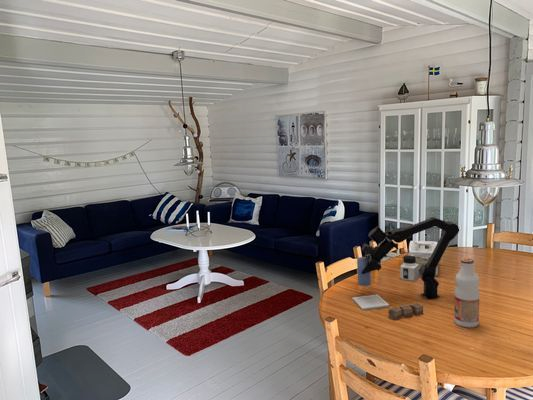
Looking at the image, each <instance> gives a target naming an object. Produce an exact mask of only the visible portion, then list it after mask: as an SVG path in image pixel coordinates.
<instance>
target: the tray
mask: <svg viewBox="0 0 533 400" xmlns="http://www.w3.org/2000/svg"><path fill="white" fill-rule="evenodd" d="M352 301H353V302H354V303H355V305H357V307H359V308H360V309H361V310H362V311H369V310H377V309H386V308H390V304H389V303H388V302H387V301H386V300H384V299H383V298H382V297H381V296H380V295H379V294H370V295H363V296H361V295H360V296H355V297H353V296H352Z"/></svg>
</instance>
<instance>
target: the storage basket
mask: <svg viewBox="0 0 533 400" xmlns="http://www.w3.org/2000/svg"><path fill="white" fill-rule="evenodd" d="M437 243H438V241H431V240H430V241H428V240H410V242H409V244H408V255H413V256H415V257H416V264H418V267H419V269H420V268H421V265H422V264H424V265H425V264H426V263H428V261H429V259H430V257H431V255H432V253H433V251H434V249H435V247H436V245H437ZM420 246H425V247H426V246H428V247H429V248H421V247H420ZM438 272H439V264H438V265H437V267H436V274H435V277H436V276H438V274H439V273H438Z"/></svg>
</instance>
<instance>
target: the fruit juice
mask: <svg viewBox="0 0 533 400" xmlns="http://www.w3.org/2000/svg"><path fill="white" fill-rule="evenodd" d="M460 264H461V265H460V269H459V271H458V272H457V273H456V275H455V277H454V282H455V288H454V302H453V303H454V306H453V307H454V309H453V311H454V313H453V315H454V317H453V318H454V323H455V324H457V325H458V326H460V327H462V328H463V327H464V328H469V329H470V328H476V327H478V325H479V323H480V290H479V284H480V278H479V275H478V274H477V273H476V271H475V269H474V264H475V260H474V258H472V257H471V258H469V257H462V258H461V259H460Z"/></svg>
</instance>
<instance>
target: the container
mask: <svg viewBox="0 0 533 400" xmlns="http://www.w3.org/2000/svg"><path fill="white" fill-rule="evenodd" d="M402 258H403V259H402V260H403V263H402V264H401V265H400V279H401V280H404V281H405V280H406V281H411V282H415V281H417V279H418V278H420V276H419V271H418V270H419V267H418V264H416V257H415V256H413V255H409V254H405V255H403V257H402Z"/></svg>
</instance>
